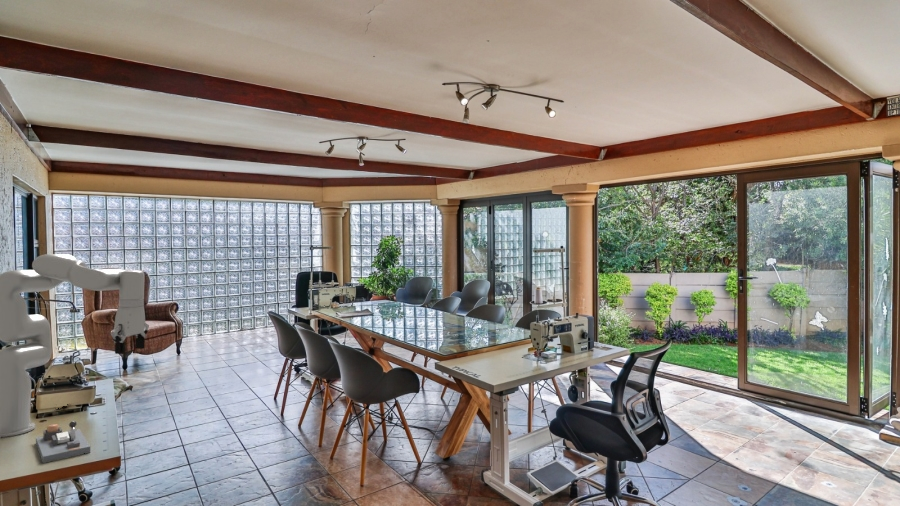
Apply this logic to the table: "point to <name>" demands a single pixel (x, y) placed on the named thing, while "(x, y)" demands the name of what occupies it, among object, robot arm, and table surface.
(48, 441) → the switch panel
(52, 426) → the push button
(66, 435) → the rocker
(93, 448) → the table surface
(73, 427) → the toggle lever
